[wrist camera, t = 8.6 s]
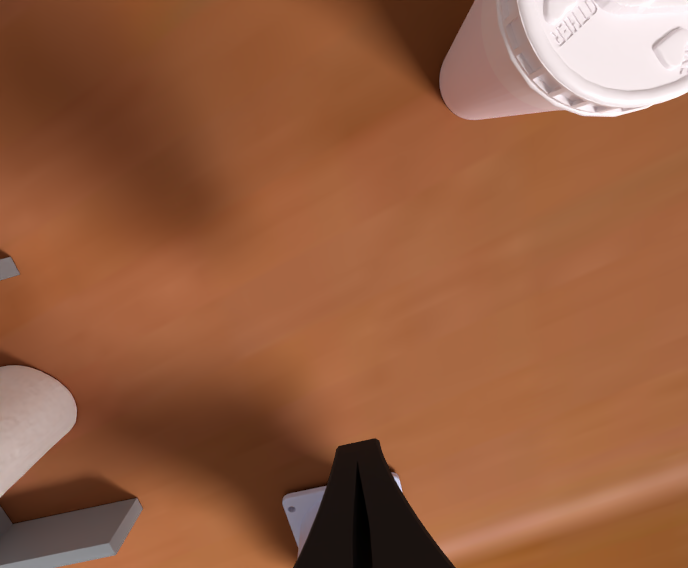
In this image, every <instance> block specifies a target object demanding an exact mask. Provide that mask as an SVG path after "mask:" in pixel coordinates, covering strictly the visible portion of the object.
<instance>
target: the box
mask: <svg viewBox="0 0 688 568" xmlns="http://www.w3.org/2000/svg"><path fill="white" fill-rule="evenodd" d="M17 275H20V273H19V272H18V270H17V268H16V266H15V264H14V262H13V260H12V258H11V257H8V258H4V259H0V280H3V279H7V278H10V277H13V276H17ZM142 510H143V508H142V506H141V504H140V503H139V501H138V499H137V498H134V499H129V500H125V501H120V502H115V503H110V504H106V505H101V506H96V507H91V508H87V509H82V510H77V511H73V512H68V513H63V514H58V515H54V516H49V517H44V518H39V519H35V520H30V521H25V522H20V523H16V524H12V522H11V521H10V519H9V518H8V516H7V515H6V513H5V512H4V510H3V509H2V508H1V506H0V568H55V567H60V566H65V565H70V564H74V563H79V562H84V561H89V560H94V559H99V558H104V557H109V556H113V555H116V554H117V552H118V551H119V549H120V547H121V546H122V544H123V542H124V540H125V539H126V537H127V535H128V534H129V532H130V530H131V528H132V527H133V525H134V523H135V522H136V520H137V518H138V516H139V515H140V513H141V511H142Z"/></svg>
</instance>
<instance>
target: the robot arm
mask: <svg viewBox="0 0 688 568" xmlns="http://www.w3.org/2000/svg"><path fill="white" fill-rule="evenodd" d="M282 504H283V507H284V510H285V513H286V516H287V518H288V521H289V524H290V527H291V529H292V532H293V535H294V537H295V540H296V543H297V546H298V559H297V561H296V563H295V565H294V567H293V568H455V567H454V565H453V564H452V563H451V562H450V560H449V559H448V558H447V556H446V555H445V554H444V553H443V551H442V550H441V549H440V548H439V546H438V545H437V544H436V542H435V541H434V540H433V538H432V537H431V535H430V534H429V533H428V531H427V530H426V529H425V527H424V526H423V524H422V523H421V521H420V520H419V518H418V517H417V515H416V514H415V512H414V511H413V509H412V508H411V506H410V505H409V503H408V501H407V500H406V498H405V496H404V495H403V493H402V489H401V484H400V480H399V476H398V475H397V474H396V473H393V472H391V471H390V469H389V467H388V465H387V463H386V460H385V458H384V456H383V453H382V450H381V446H380V442H379V440H377V439H370V440H365V441H360V442H356V443H351V444H346V445H341V446H338V448H337V449H336V453H335V458H334V462H333V466H332V470H331V473H330V476H329V480H328V483H327V486H323V487H318V488H313V489H309V490H304V491H299V492H294V493H289V494H286V495H285V496H284V497H283V501H282Z"/></svg>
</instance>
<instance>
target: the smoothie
mask: <svg viewBox="0 0 688 568" xmlns="http://www.w3.org/2000/svg"><path fill="white" fill-rule="evenodd" d="M439 84H440V91H441V95H442V98H443V100H444V102H445V104H446V105H447V107H448V108H449V109H450V110H451V111H452V112H453V113H454V114H456V115H457V116H459V117H461V118H464V119H468V120H479V119H488V118H496V117H504V116H513V115H521V114H530V113H538V112H547V111H555V110H567V111H570V112H573V113H575V114H578V115H581V116H605V117H615V116H619V115H623V114H626V113H630V112H634V111H638V110H642V109H645V108H648V107H650V106H652V105H653V104H658V103H662V102H665V101H668V100H671V99H673V98H676V97H678V96H681V95H683V94H685V93H687V92H688V0H475V1H474V3H473V5H472V7H471V9H470V11H469V12H468V14H467V16H466V18H465V20H464V22H463V24H462V26H461V28H460V30H459V32H458V34H457V36H456V38H455V40H454V42H453V43H452V45H451V47H450V49H449V51H448V53H447V55H446V57H445V59H444V61H443V64H442V67H441V71H440V78H439Z"/></svg>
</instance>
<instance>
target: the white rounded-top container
mask: <svg viewBox="0 0 688 568" xmlns="http://www.w3.org/2000/svg"><path fill="white" fill-rule="evenodd" d="M76 417H77V407H76V403H75V400H74V398H73V396H72V394H71V393H70V391H69V390H68V389H67V388H66V387H65V386H64V385H62V384H61V383H60V382H59V381H58V380H56V379H54V378H53V377H51V376H49V375H47V374H45V373H43V372H42V371H39V370H36V369H34V368H30V367H26V366H20V365H8V366H3V367H0V497H1V496H2V495H3V494H4V493H5V492H6V491H7V490H8V489H9V488H10V487H11V486H12V485H13V484H14V483H16V482H17V481H18V480H19V479H20V478H21V477H22V476H23V475H24V474H25V473H26V472H27V471H28V470H29V469H30V468H31V467H32V466H33V465H34V464H35V463H36V462H37V461H38V460H39V459H40V458H41V457H42V456H43V455H44V454H45V453H46V452H47V451H48V450H49V449H50V448H52V447H53V446H54V445H55V444H56V443H57V442H58V441H59V440H60V439H61V438H62V437H64V436H65V435H66V434H67V433H68V432H69V431H70V430H71V429H72V427H73V426H74V424H75V423H76Z"/></svg>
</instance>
